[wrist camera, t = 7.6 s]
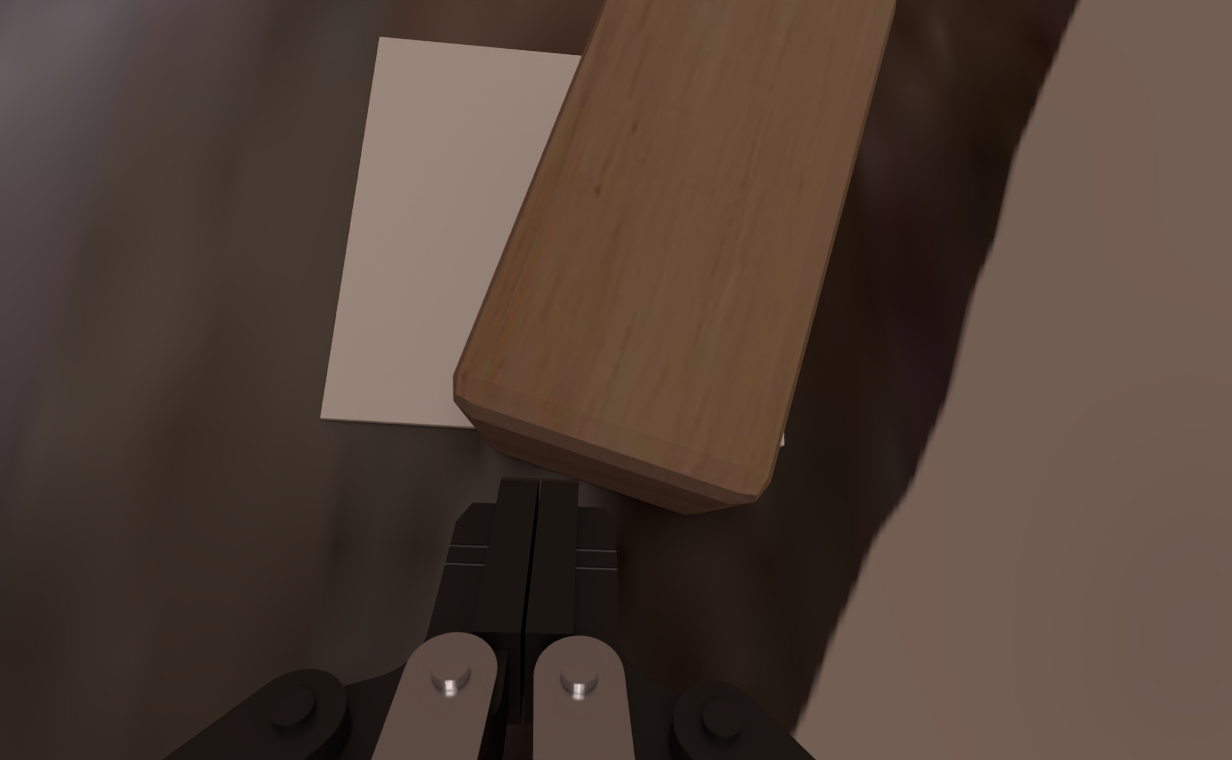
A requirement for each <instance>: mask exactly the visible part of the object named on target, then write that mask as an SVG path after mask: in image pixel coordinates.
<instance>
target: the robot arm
mask: <svg viewBox="0 0 1232 760" xmlns="http://www.w3.org/2000/svg"><path fill="white" fill-rule="evenodd" d="M578 487H579V480H564V479H542V483H541V492H540V501H539V479H536V478H513V477H502V478H501V482H500V487H499V492H498V498H497V503H496V504H492V503H472V504H471V505H470V506H469V507H468V508H467V510H466V511H465V512H464V513H463V514H462V515H461V517H460V518H459V519H458V520H457V521H456V525H455V529H454V533H453V536H452V540H451V547H450V548H449V552H448V556H447V560H446V566H445V567H444V571H443V575H442V579H441V583H440V587H439V591H438V595H437V599H436V602H435V606H434V610H433V614H432V618H431V622H430V626H429V630H428V633H427V636H426V639H425V641H424V643H423V644H422V645H421V646H420V647H418V648H417V649H416V650H415V652H414V653H413V654H412V655H411V657H410V658H409V660H408V661H407V662H406V663H405V664H404V665H402V666H401V667H399V668H397V669H396V670H394V671H392V672H390V673H387V674H385V675H382V676H379V677H376V678H372V679H368V680H365V681H361V682H357V683H354V684H350V685H346V686H343V685H342V683H341V682H340V681H339V680H338V679H337V678H336V677H335V676H333V675H332V674H330V673H328V672H326V671H322V670H316V669H305V670H298V671H293V672H290V673H287V674H284V675H282V676H280V677H278V678H276V679H274V680H273V681H271V682H269V683H268V684H266V685H265V686H264V687H262V688H261V689H259V690H258V691H257V692H255V693H254V694H253V695H251V696H250V697H248V698H247V699H246V700H244V701H243V702H241V703H240V704H239V705H237V706H236V707H235V708H233V709H232V710H230V711H229V712H228V713H226V714H225V715H224V716H222V717H221V718H219V719H218V720H217V721H215V722H214V723H213V724H211V725H210V726H208V727H207V728H206V729H204V730H203V731H201V732H200V733H199V734H197V735H196V736H195V737H193V738H192V739H190V740H189V741H188V742H186V743H185V744H184V745H182V746H181V747H179V748H178V749H177V750H175V751H174V752H172V753H171V754H170V755H168V756H167V757H166V758H164V759H163V760H502V758H503V752H504V744H505V736H506V727H507V724H520V723H521V713H522V704H523V694H524V684H525V715H524V724H533V751H532V760H815V759H814V758H813V757H812V756H811V755H810V754H809V753H808V752H807V751H806V750H805V749H804V748H803V747H802V746H801V745H800V744H799V743H798V742H797V741H796V740H795V739H794V738H793V737H792V736H791V735H790V734H789V733H788V732H787V731H786V730H785V729H783V728H782V727H781V726H780V725H779V724H778V723H777V722H776V721H775V720H774V719H773V718H772V717H771V716H770V715H769V714H768V713H767V712H766V711H765V710H764V709H763V708H762V707H761V706H760V705H759V704H758V703H757V702H756V701H755V700H754V699H753V698H752V697H750V696H749V695H748V694H747V693H746V692H744V691H743V690H741V689H740V688H738V687H736V686H733V685H731V684H728V683H725V682H719V681H706V682H700V683H698V684H695V685H693V686H691V687H690V688H688V689H687V690H686V691H685V692H681V691H678V690H675V689H672V688H669V687H666V686H663V685H660V684H658V683H655V682H653V681H651V680H649V679H647V678H646V677H644V676H642V675H641V674H640V673H639V672H637V671H636V670H635V669H634V668H633V667H632V666H631V665H630V663H629V662H628V660H627V659H626V657H625V655H624V653H623V651H622V648H621V645H620V637H619V608H618V578H617V553H616V527H615V525H614V523H613V522H612V520H611V518H610V517H609V515H608V513H607V511H606V510H605V508H596V507H578Z"/></svg>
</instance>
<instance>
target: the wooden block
mask: <svg viewBox="0 0 1232 760" xmlns="http://www.w3.org/2000/svg"><path fill="white" fill-rule="evenodd" d="M895 7H896V0H604V2H603V4H602V7H601V9H600V12H599V14H598V17H597V19H596V22H595V24H594V27H593V29H592V31H591V34H590V36H589V39H588V41H587V44H586V46H585V49H584V51H583V54H582V56H581V59H580V61H579V64H578V66H577V69H576V71H575V74H574V76H573V79H572V81H571V84H570V86H569V89H568V91H567V93H566V96H565V98H564V101H563V103H562V106H561V108H560V111H559V113H558V116H557V118H556V121H555V123H554V126H553V128H552V131H551V133H550V136H549V138H548V141H547V143H546V146H545V148H544V151H543V153H542V156H541V158H540V160H539V163H538V165H537V168H536V170H535V173H534V175H533V178H532V180H531V183H530V185H529V188H528V190H527V193H526V195H525V198H524V200H523V203H522V205H521V208H520V210H519V213H518V215H517V218H516V220H515V223H514V225H513V227H512V230H511V232H510V235H509V237H508V240H507V242H506V245H505V247H504V250H503V252H502V255H501V257H500V260H499V262H498V265H497V267H496V270H495V272H494V275H493V277H492V280H491V282H490V285H489V287H488V290H487V292H486V294H485V297H484V299H483V302H482V304H481V307H480V309H479V312H478V314H477V317H476V319H475V322H474V324H473V327H472V329H471V332H470V334H469V337H468V339H467V342H466V344H465V347H464V349H463V352H462V354H461V357H460V359H459V361H458V364H457V366H456V369H455V371H454V374H453V401H454V402H455V404H456V405H457V406H458V407H459V409H460V410H461V411H462V412H463V414H464V415H465V416H466V417H467V419H468V420H469V421H470V422H471V424H472V425H473V426H474V427H475V429H476V430H477V431H478V432H479V434H480V435H481V436H482V437H483V439H484V440H485V441H486V442H487V443H488V444H490V445H491V446H492V447H493V448H494V449H495V450H496V451H497V452H499V453H502V454H505V455H508V456H510V457H513V458H516V459H519V460H522V461H525V462H528V463H531V464H534V465H537V466H540V467H543V468H546V469H549V470H552V471H555V472H558V473H561V474H564V475H567V476H570V477H573V478H576V479H579V480H582V481H585V482H588V483H591V484H594V485H597V486H600V487H603V488H606V489H609V490H612V491H615V492H617V493H620V494H623V495H626V496H629V497H632V498H635V499H638V500H641V501H644V502H647V503H650V504H653V505H656V506H659V507H662V508H665V509H668V510H671V511H674V512H677V513H680V514H696V513H704V512H709V511H714V510H719V509H724V508H729V507H734V506H739V505H744V504H749V503H754V502H756V500H757V499H758V498H759V496H760V495H761V494H762V493H763V491H764V490H765V489H766V488H767V486H768V485H769V484H770V482H771V478H772V475H773V471H774V467H775V463H776V459H777V456H778V452H779V448H780V444H781V441H782V437H783V433H784V429H785V425H786V422H787V418H788V414H789V410H790V406H791V403H792V399H793V395H794V391H795V388H796V384H797V380H798V376H799V372H800V369H801V365H802V361H803V357H804V353H805V350H806V346H807V342H808V338H809V335H810V331H811V327H812V323H813V319H814V316H815V312H816V308H817V304H818V300H819V297H820V293H821V289H822V285H823V282H824V278H825V274H826V270H827V266H828V263H829V259H830V255H831V251H832V247H833V244H834V240H835V236H836V232H837V229H838V225H839V221H840V217H841V213H842V210H843V206H844V202H845V198H846V194H847V191H848V187H849V183H850V179H851V176H852V172H853V168H854V164H855V160H856V157H857V153H858V149H859V145H860V141H861V138H862V134H863V130H864V126H865V123H866V119H867V115H868V111H869V107H870V104H871V100H872V96H873V92H874V88H875V85H876V81H877V77H878V73H879V70H880V66H881V62H882V58H883V54H884V51H885V47H886V43H887V39H888V35H889V32H890V28H891V24H892V20H893V17H894V13H895Z"/></svg>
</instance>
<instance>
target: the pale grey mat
mask: <svg viewBox="0 0 1232 760" xmlns="http://www.w3.org/2000/svg"><path fill="white" fill-rule="evenodd" d="M580 59H581V56H577V55H566V54H555V53H545V52H534V51H523V50H513V49H502V48H491V47H481V46H470V45H459V44H449V43H438V42H427V41H417V40H406V39H396V38H385V37H380V38H379V45H378V51H377V57H376V64H375V70H374V77H373V83H372V90H371V96H370V102H369V109H368V115H367V122H366V128H365V134H364V141H363V147H362V154H361V160H360V167H359V173H358V179H357V186H356V192H355V199H354V205H353V212H352V218H351V224H350V231H349V237H348V244H347V250H346V257H345V263H344V269H343V276H342V282H341V289H340V295H339V301H338V308H337V314H336V321H335V327H334V334H333V340H332V346H331V353H330V359H329V366H328V372H327V379H326V385H325V391H324V398H323V404H322V411H321V417H320V418H321V419H323V420H333V421H350V422H367V423H384V424H401V425H418V426H434V427H451V428H468V429H475V427H474V426H473V425H472V424H471V422H470V421H469V420H468V419H467V417H466V416H465V415H464V414H463V412H462V411H461V410H460V409H459V407H458V406H457V405H456V404H455V402H454V401H453V374H454V371H455V369H456V366H457V364H458V361H459V359H460V357H461V354H462V352H463V349H464V347H465V344H466V342H467V339H468V337H469V334H470V332H471V329H472V327H473V324H474V322H475V319H476V317H477V314H478V312H479V309H480V307H481V304H482V302H483V299H484V297H485V294H486V292H487V290H488V287H489V285H490V282H491V280H492V277H493V275H494V272H495V270H496V267H497V265H498V262H499V260H500V257H501V255H502V252H503V250H504V247H505V245H506V242H507V240H508V237H509V235H510V232H511V230H512V227H513V225H514V223H515V220H516V218H517V215H518V213H519V210H520V208H521V205H522V203H523V200H524V198H525V195H526V193H527V190H528V188H529V185H530V183H531V180H532V178H533V175H534V173H535V170H536V168H537V165H538V163H539V160H540V158H541V156H542V153H543V151H544V148H545V146H546V143H547V141H548V138H549V136H550V133H551V131H552V128H553V126H554V123H555V121H556V118H557V116H558V113H559V111H560V108H561V106H562V103H563V101H564V98H565V96H566V93H567V91H568V89H569V86H570V84H571V81H572V79H573V76H574V74H575V71H576V69H577V66H578V64H579V61H580ZM781 446H784V433H783V437H782V441H781V444H780V447H781Z"/></svg>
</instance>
